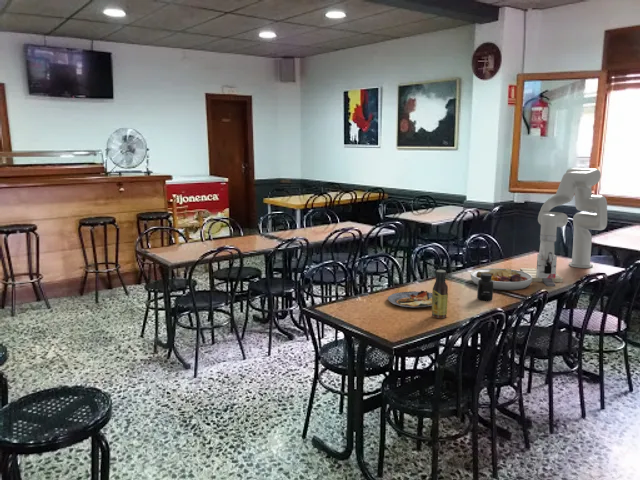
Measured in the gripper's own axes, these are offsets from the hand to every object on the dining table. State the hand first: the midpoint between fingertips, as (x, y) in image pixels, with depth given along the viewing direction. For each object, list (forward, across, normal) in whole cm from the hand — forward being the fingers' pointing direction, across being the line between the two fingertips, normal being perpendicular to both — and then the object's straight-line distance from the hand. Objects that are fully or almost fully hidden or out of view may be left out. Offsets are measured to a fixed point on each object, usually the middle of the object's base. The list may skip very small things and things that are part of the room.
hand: (546, 271), depth 266 cm
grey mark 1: (+5, +4, 0) cm, 6 cm away
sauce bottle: (+5, +64, -60) cm, 88 cm away
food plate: (+5, +44, -69) cm, 82 cm away
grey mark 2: (+4, +8, 0) cm, 9 cm away
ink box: (+3, 0, 0) cm, 3 cm away
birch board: (+5, -9, 0) cm, 10 cm away
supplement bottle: (+5, +37, -37) cm, 52 cm away
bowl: (+5, +7, -24) cm, 26 cm away
